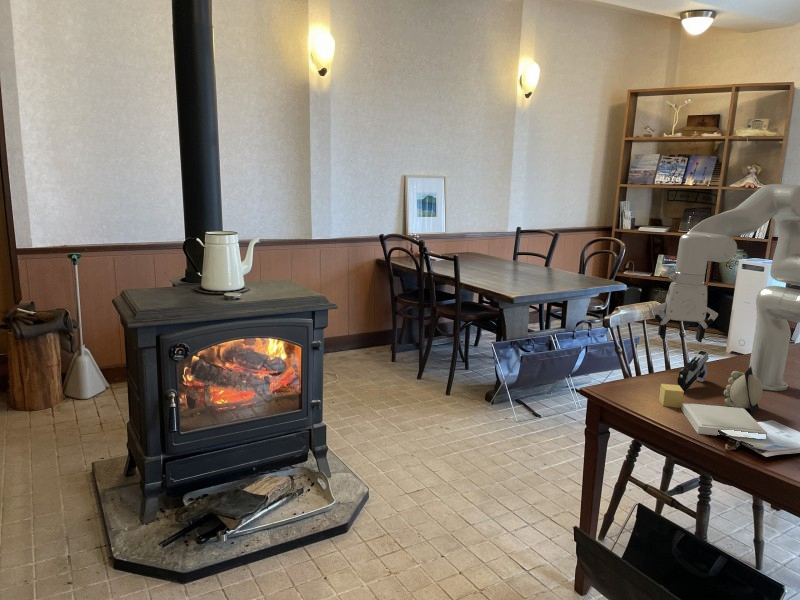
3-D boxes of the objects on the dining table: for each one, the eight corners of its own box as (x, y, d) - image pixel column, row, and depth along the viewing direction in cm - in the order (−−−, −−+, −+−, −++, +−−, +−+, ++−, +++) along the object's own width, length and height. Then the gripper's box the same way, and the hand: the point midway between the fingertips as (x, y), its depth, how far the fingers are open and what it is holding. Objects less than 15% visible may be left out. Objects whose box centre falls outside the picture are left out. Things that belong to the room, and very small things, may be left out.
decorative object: (723, 417, 169) (730, 407, 176) (763, 417, 163) (769, 407, 170) (715, 374, 169) (723, 366, 176) (755, 373, 162) (762, 365, 169)
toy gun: (676, 402, 185) (676, 373, 180) (700, 375, 195) (701, 347, 190) (684, 405, 183) (684, 375, 179) (708, 377, 193) (709, 348, 189)
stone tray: (681, 409, 168) (682, 402, 168) (742, 415, 166) (743, 407, 165) (697, 433, 153) (698, 425, 153) (765, 440, 150) (767, 432, 150)
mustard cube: (658, 399, 176) (661, 383, 174) (677, 401, 175) (679, 385, 174) (662, 406, 171) (665, 389, 170) (681, 408, 170) (683, 391, 169)
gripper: (659, 279, 162) (650, 340, 166) (727, 284, 159) (717, 345, 163) (652, 275, 169) (644, 333, 173) (718, 279, 167) (708, 338, 170)
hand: (680, 339), depth 168 cm, fingers open, 9 cm apart
